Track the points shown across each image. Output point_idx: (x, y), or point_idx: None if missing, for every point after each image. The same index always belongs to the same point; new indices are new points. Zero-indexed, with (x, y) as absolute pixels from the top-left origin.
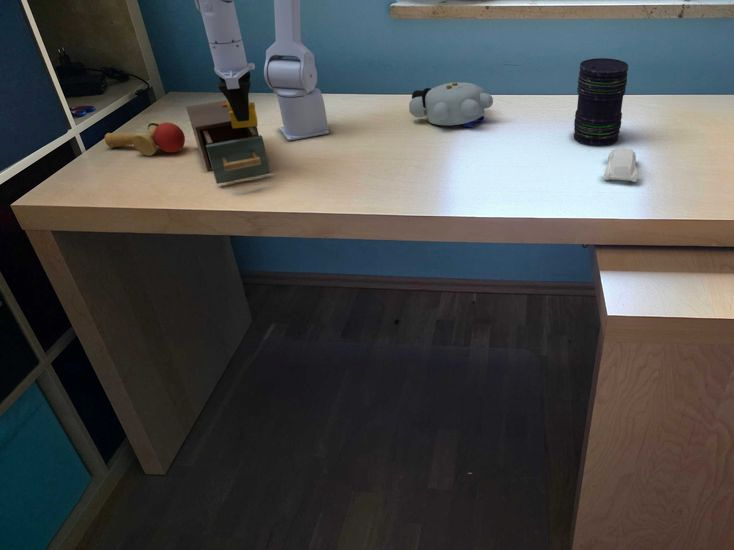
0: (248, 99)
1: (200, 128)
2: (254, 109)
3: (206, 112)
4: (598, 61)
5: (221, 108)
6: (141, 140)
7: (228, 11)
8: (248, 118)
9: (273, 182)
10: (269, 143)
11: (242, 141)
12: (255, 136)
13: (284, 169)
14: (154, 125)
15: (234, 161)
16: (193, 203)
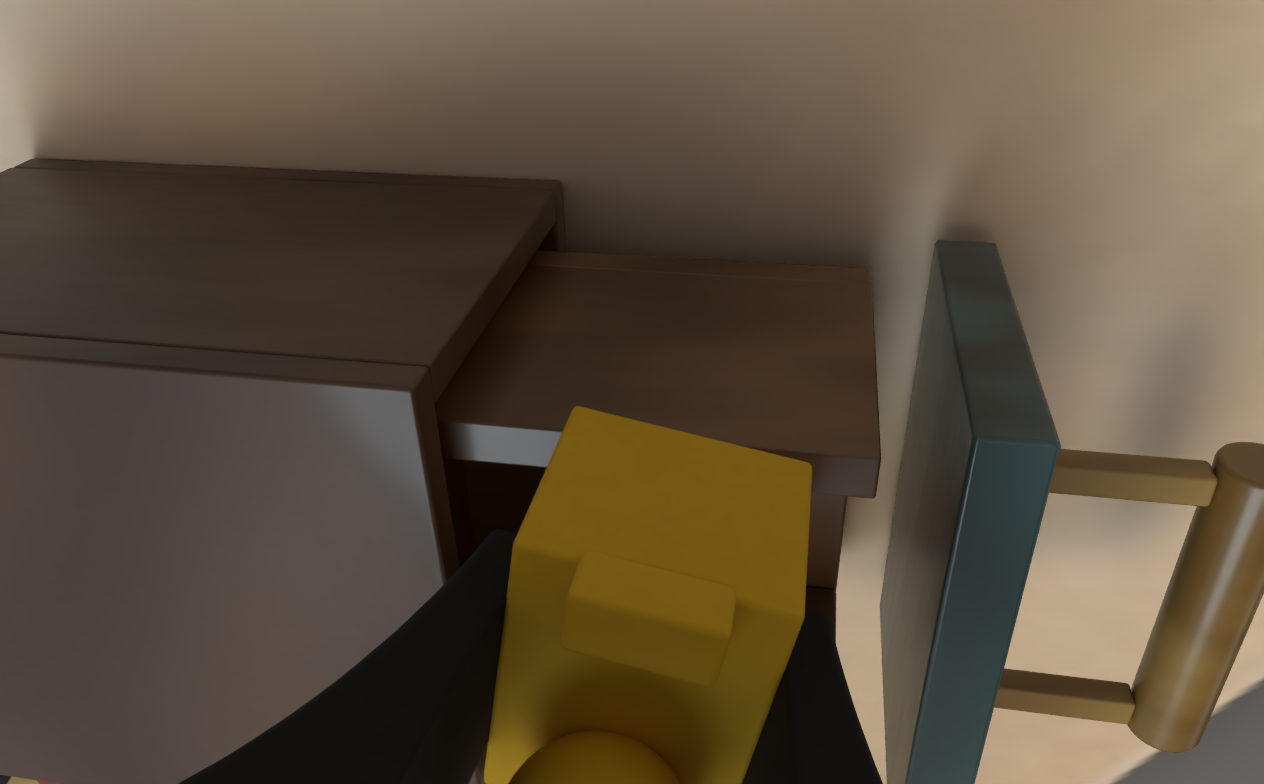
0: (473, 654)
1: None
2: (690, 569)
3: (120, 702)
4: None
5: (23, 582)
6: None
7: None
8: (832, 635)
9: (1110, 237)
10: (164, 33)
11: (1010, 628)
12: (979, 501)
13: (874, 64)
14: (7, 779)
15: (1198, 684)
16: (1061, 738)
